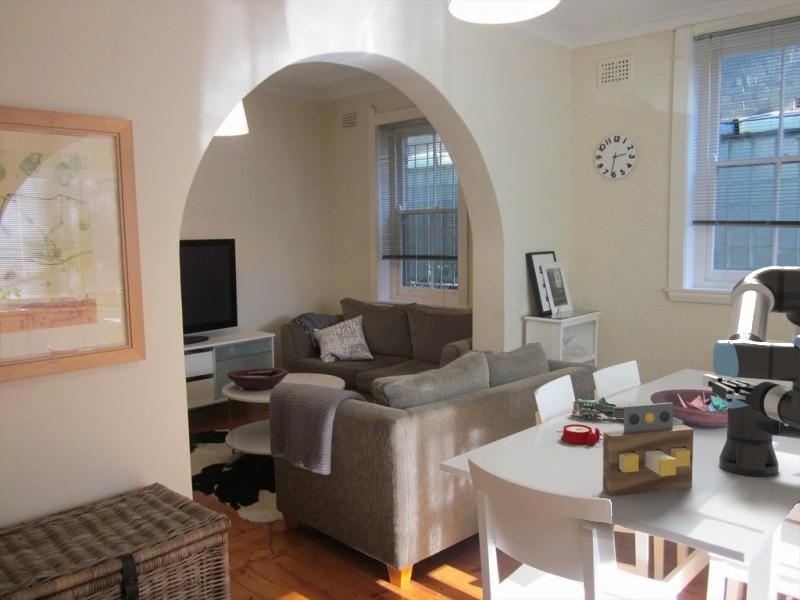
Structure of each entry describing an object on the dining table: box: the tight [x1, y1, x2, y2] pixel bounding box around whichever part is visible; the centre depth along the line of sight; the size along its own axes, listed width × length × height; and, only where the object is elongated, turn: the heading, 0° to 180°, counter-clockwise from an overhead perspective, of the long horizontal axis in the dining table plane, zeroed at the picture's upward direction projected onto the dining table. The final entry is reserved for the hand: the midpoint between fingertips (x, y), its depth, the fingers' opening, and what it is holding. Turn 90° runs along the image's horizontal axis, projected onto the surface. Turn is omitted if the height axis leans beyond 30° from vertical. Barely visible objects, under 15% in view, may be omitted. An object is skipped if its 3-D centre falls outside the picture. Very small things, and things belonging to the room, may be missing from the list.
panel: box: [602, 424, 694, 497], centre depth 177 cm, size 4×24×16 cm, turn 102°
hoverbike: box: [571, 396, 631, 421], centre depth 244 cm, size 10×25×8 cm, turn 63°
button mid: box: [644, 449, 676, 476], centre depth 173 cm, size 9×4×4 cm, turn 12°
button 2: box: [669, 447, 690, 467], centre depth 179 cm, size 9×4×4 cm, turn 12°
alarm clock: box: [556, 423, 603, 446], centre depth 220 cm, size 10×6×15 cm
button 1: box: [618, 451, 639, 472], centre depth 176 cm, size 9×4×4 cm, turn 12°
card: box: [623, 402, 674, 433], centre depth 176 cm, size 1×14×7 cm, turn 102°
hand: (705, 379), depth 164 cm, fingers closed
